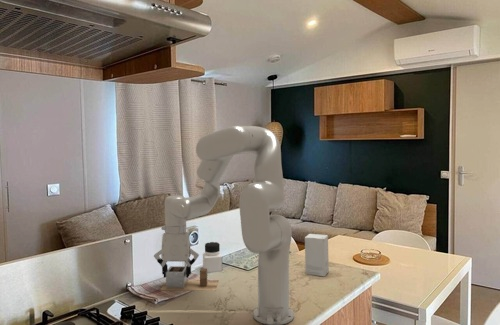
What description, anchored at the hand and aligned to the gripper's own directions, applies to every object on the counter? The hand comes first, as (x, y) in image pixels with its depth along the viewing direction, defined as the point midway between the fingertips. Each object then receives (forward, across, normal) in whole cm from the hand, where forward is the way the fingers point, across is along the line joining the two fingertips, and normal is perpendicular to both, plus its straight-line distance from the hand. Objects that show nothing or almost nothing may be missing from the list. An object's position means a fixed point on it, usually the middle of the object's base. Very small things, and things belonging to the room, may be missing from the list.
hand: (176, 276), depth 141 cm
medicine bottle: (+5, +11, +18) cm, 22 cm away
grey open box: (+4, 0, 0) cm, 4 cm away
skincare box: (+5, +54, +16) cm, 57 cm away
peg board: (+5, +5, 0) cm, 7 cm away
